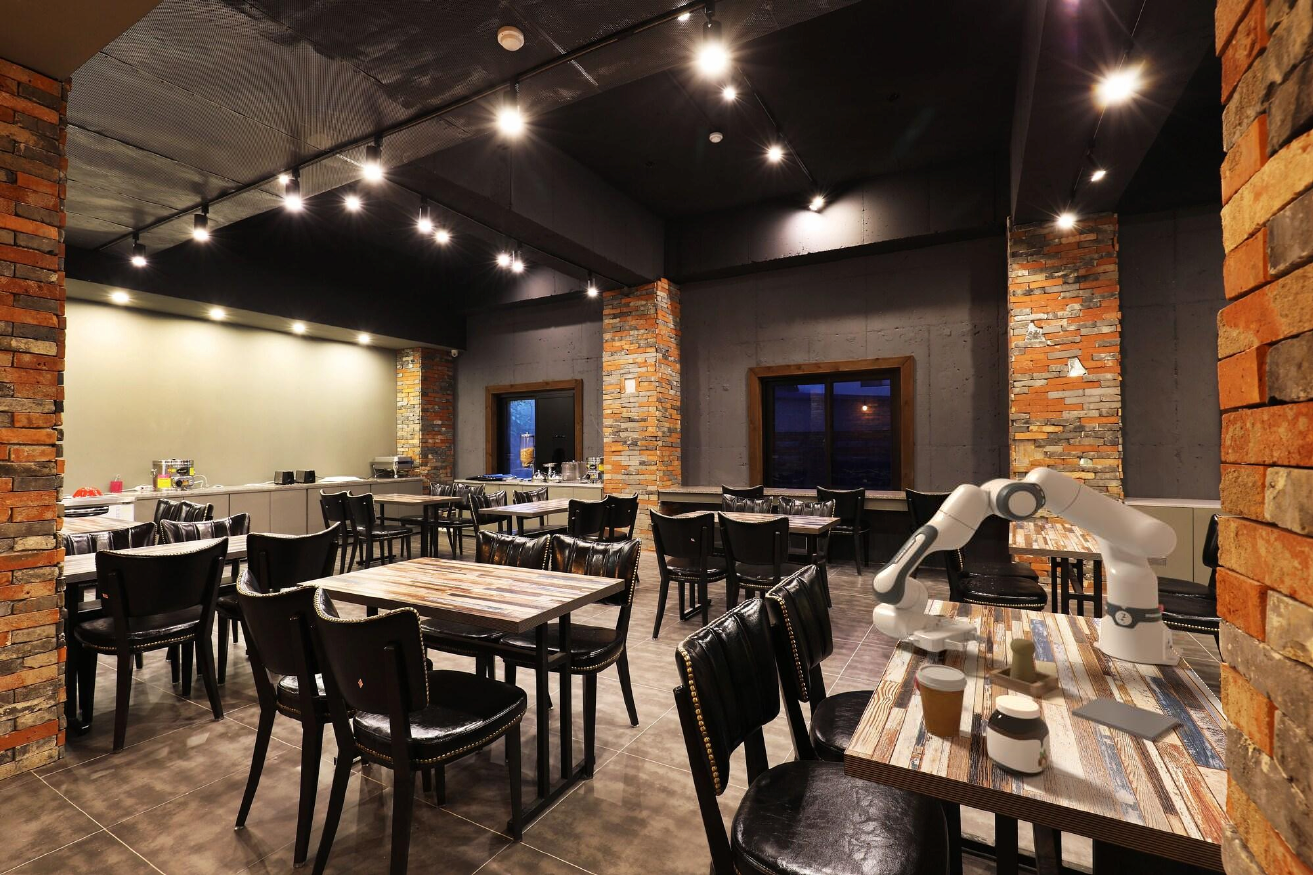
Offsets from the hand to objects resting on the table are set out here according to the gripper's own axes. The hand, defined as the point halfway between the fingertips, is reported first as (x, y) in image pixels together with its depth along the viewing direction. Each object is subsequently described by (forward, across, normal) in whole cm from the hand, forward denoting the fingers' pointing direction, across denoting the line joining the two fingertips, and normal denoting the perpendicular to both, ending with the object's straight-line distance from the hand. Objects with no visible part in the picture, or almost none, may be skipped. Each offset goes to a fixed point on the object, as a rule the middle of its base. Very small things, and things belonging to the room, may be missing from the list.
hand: (974, 644), depth 155 cm
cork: (+12, 0, +7) cm, 14 cm away
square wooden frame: (+12, 0, +7) cm, 14 cm away
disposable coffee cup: (+15, -38, +7) cm, 41 cm away
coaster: (+33, -1, +7) cm, 34 cm away
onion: (+4, -26, +7) cm, 27 cm away
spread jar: (+29, -38, +7) cm, 48 cm away
